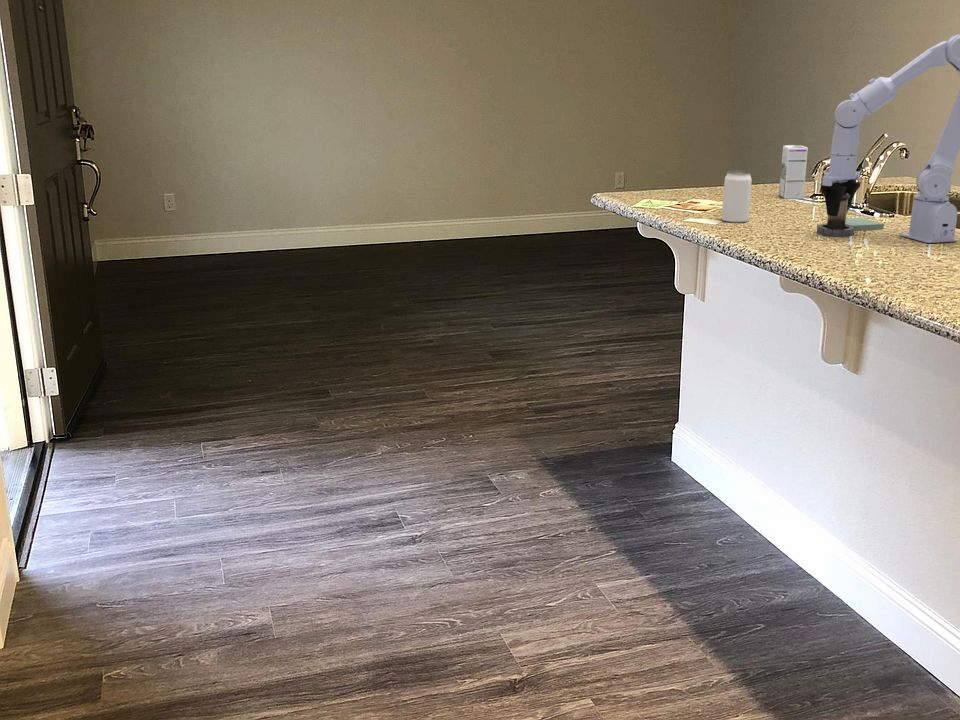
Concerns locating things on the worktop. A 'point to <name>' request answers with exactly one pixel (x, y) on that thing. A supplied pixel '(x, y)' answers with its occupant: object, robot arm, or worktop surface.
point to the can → (736, 197)
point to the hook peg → (839, 213)
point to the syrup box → (793, 172)
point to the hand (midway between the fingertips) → (837, 214)
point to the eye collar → (835, 230)
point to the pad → (863, 224)
